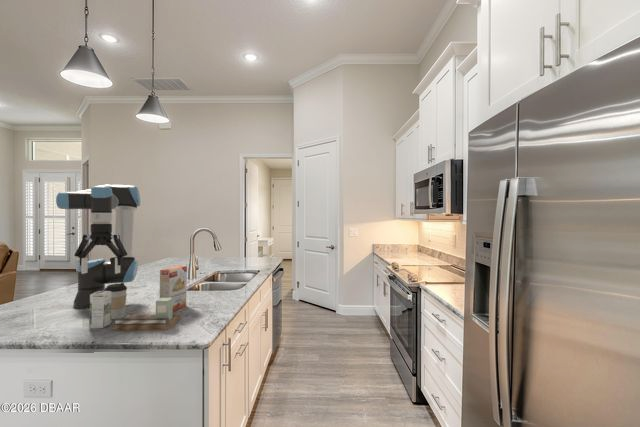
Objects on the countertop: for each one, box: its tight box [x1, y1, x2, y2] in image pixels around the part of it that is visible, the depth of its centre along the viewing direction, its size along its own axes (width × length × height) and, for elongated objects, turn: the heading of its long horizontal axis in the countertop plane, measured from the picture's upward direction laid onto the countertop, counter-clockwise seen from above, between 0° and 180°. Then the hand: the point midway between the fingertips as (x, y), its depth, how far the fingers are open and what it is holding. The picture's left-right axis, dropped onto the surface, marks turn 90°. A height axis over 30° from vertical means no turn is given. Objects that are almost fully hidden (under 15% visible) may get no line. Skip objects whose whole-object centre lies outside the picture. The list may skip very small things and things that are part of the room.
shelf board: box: [112, 313, 182, 331], centre depth 141 cm, size 22×14×4 cm, turn 93°
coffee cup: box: [104, 283, 128, 320], centre depth 151 cm, size 9×9×15 cm
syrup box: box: [88, 291, 112, 330], centre depth 138 cm, size 6×6×14 cm
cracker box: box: [158, 265, 188, 312], centre depth 163 cm, size 14×6×21 cm, turn 168°
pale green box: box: [155, 297, 174, 321], centre depth 140 cm, size 5×5×9 cm
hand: (101, 273), depth 138 cm, fingers open, 13 cm apart
